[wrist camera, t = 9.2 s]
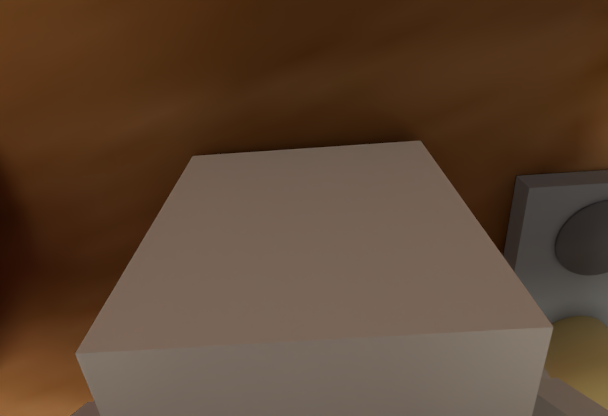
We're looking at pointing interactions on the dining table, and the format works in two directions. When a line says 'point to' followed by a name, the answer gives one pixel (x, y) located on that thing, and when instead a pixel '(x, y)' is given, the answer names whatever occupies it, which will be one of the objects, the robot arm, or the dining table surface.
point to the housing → (316, 296)
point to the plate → (566, 270)
